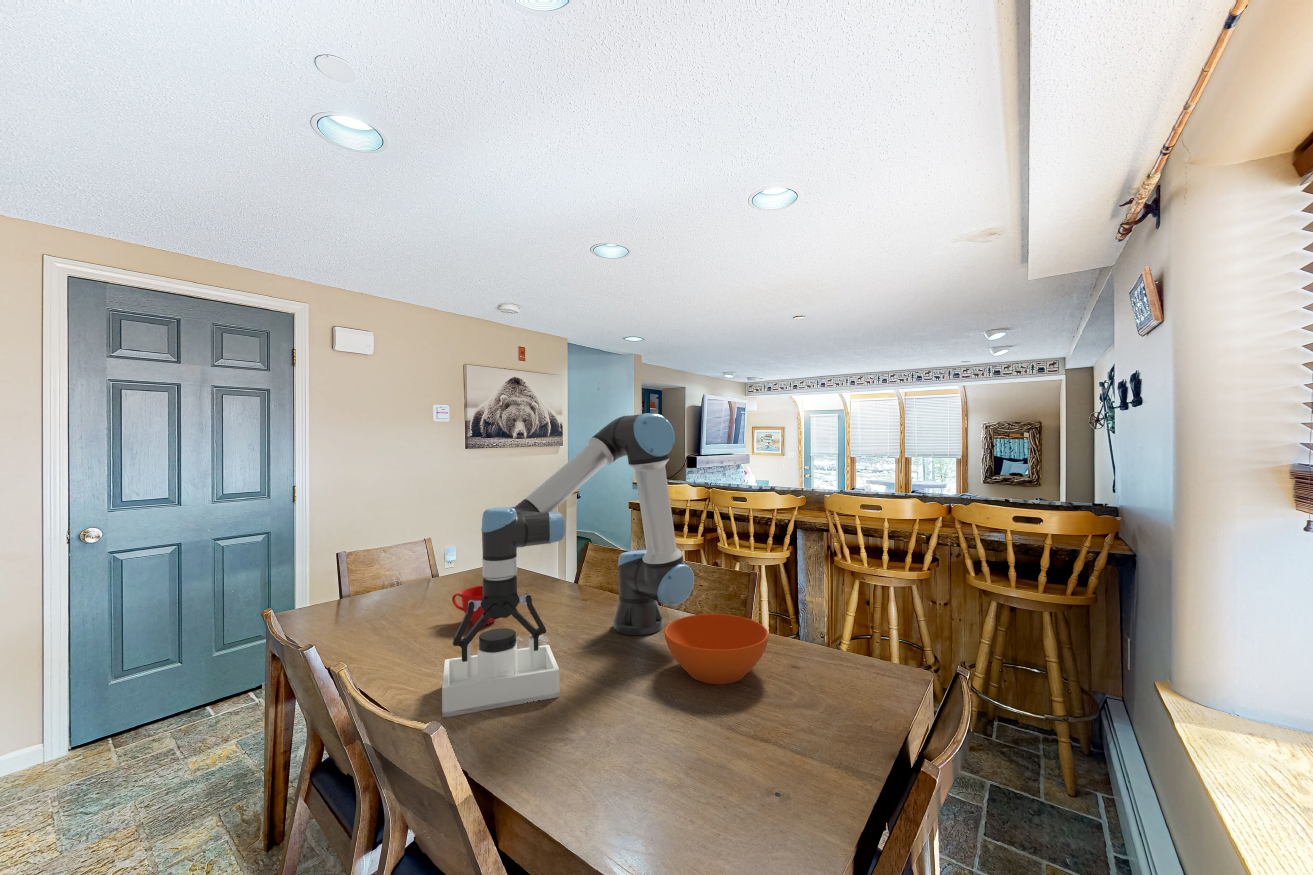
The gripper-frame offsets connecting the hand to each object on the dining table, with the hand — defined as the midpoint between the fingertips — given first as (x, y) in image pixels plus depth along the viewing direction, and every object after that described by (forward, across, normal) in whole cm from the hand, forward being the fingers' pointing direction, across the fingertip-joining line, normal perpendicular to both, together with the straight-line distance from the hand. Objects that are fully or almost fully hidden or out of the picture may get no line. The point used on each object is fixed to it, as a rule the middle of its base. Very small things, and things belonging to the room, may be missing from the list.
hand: (501, 669), depth 118 cm
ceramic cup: (+5, +4, -52) cm, 52 cm away
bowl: (+5, -50, +9) cm, 51 cm away
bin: (+5, 0, 0) cm, 5 cm away
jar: (+4, +1, 0) cm, 4 cm away
